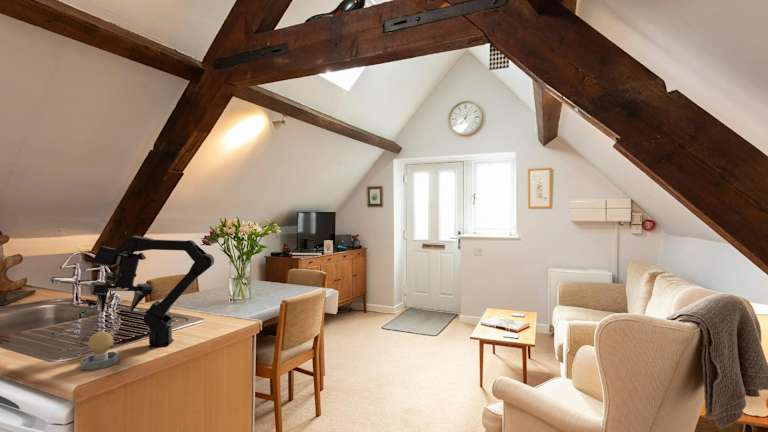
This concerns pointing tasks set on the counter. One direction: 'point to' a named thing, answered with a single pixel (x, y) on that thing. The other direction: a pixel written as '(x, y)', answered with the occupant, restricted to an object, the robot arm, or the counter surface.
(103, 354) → the light bulb
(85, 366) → the saucer
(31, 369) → the counter surface
